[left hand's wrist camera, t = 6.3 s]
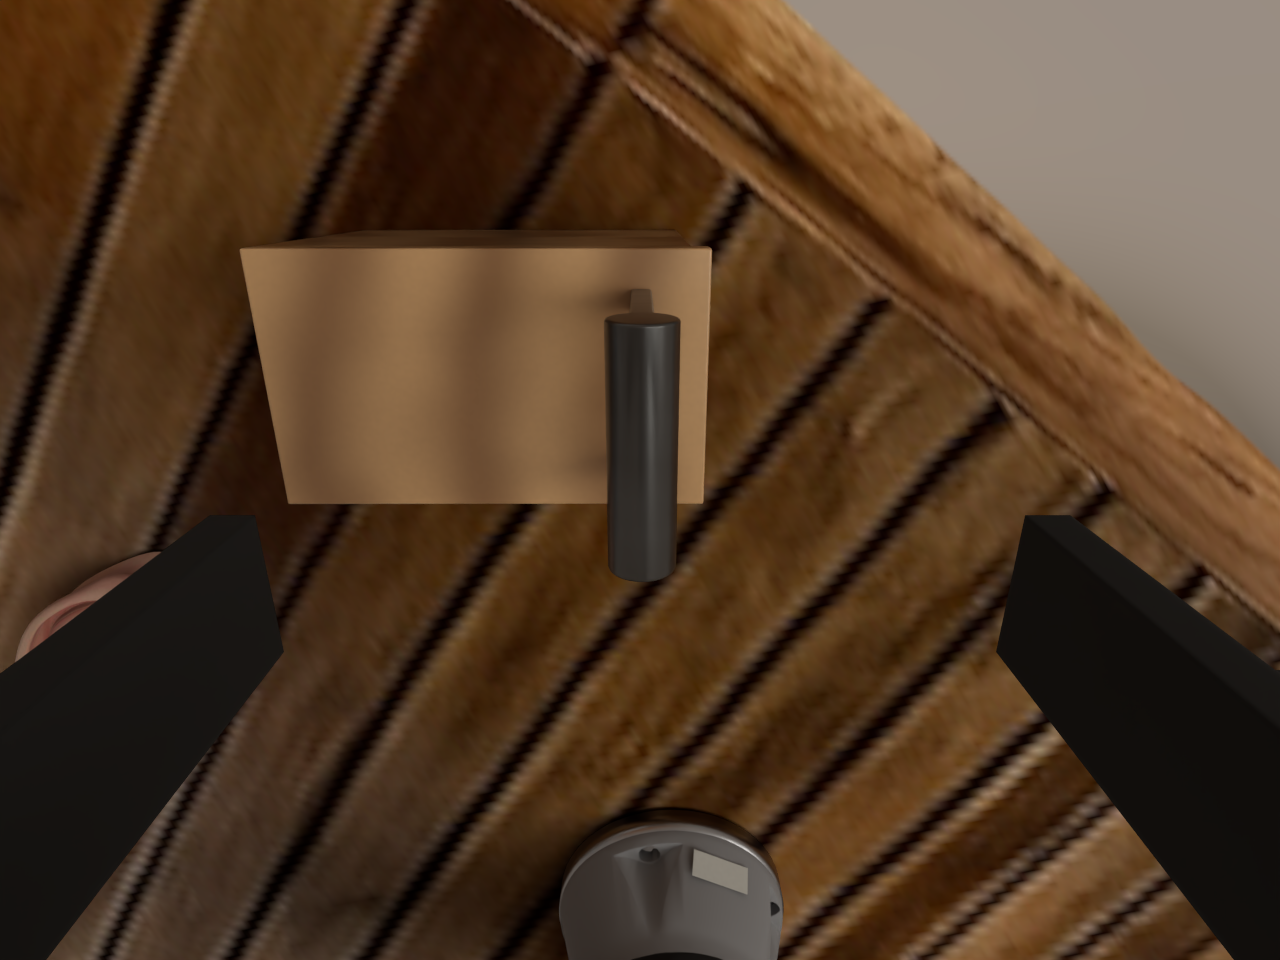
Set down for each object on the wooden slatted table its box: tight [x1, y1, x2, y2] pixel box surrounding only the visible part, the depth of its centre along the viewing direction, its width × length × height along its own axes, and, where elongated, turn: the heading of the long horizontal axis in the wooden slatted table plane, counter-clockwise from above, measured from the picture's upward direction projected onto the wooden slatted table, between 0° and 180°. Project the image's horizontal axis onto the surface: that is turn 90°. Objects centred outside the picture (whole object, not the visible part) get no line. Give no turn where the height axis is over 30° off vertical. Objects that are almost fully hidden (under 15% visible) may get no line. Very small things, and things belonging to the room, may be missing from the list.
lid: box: [240, 246, 712, 582], centre depth 23 cm, size 16×9×9 cm, turn 90°
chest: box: [254, 230, 690, 247], centre depth 32 cm, size 15×9×11 cm, turn 90°
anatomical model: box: [15, 552, 161, 662], centre depth 42 cm, size 13×4×12 cm
